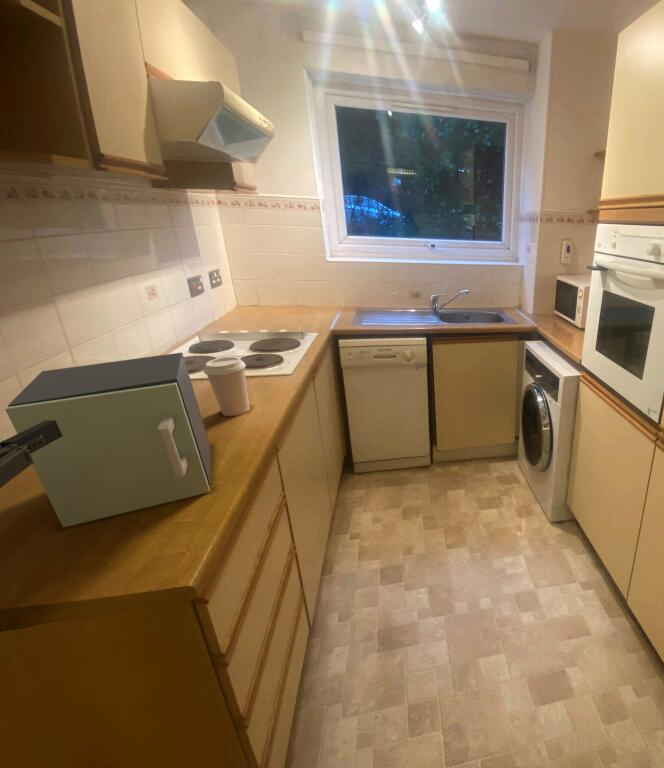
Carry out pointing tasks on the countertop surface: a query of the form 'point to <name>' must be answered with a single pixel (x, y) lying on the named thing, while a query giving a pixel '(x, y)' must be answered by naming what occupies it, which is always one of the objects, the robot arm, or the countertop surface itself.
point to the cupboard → (122, 387)
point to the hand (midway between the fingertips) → (53, 428)
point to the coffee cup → (229, 384)
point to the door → (115, 452)
